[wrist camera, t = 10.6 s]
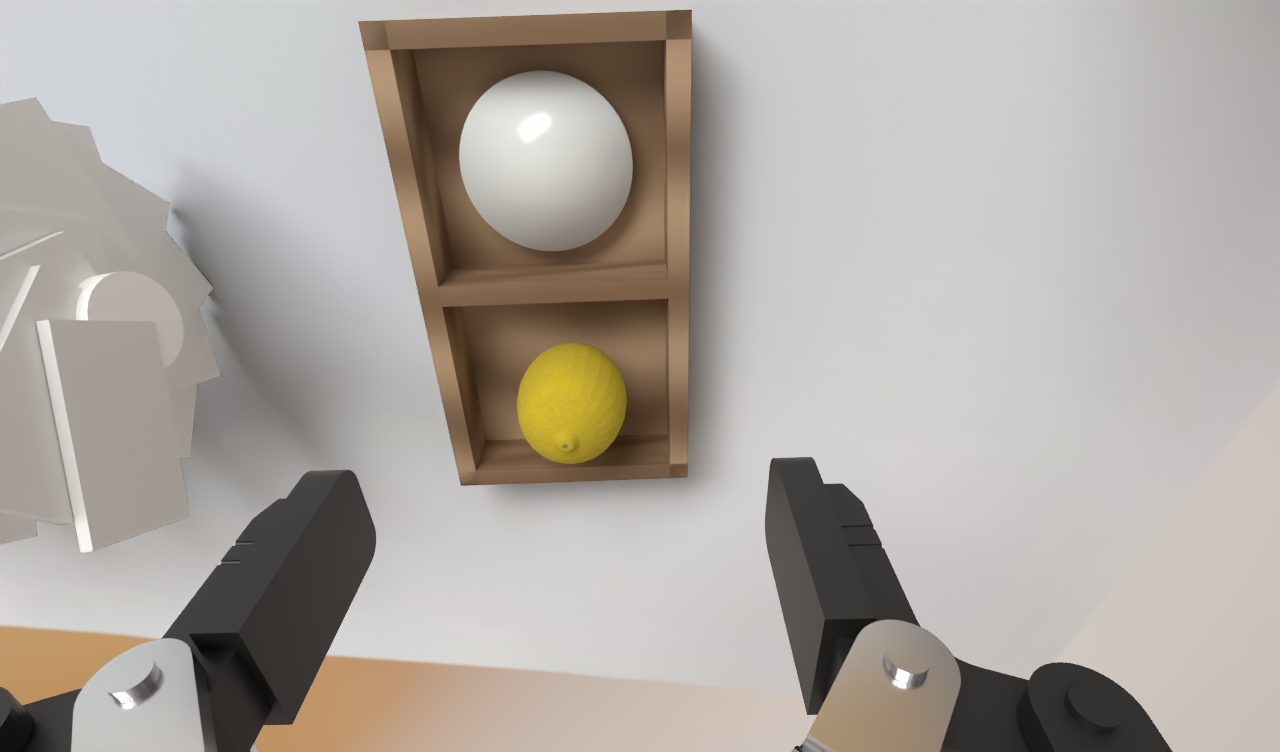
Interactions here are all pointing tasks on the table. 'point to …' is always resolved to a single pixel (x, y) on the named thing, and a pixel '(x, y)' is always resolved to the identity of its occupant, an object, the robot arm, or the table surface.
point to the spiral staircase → (91, 340)
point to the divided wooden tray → (534, 279)
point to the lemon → (571, 403)
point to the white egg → (546, 160)
